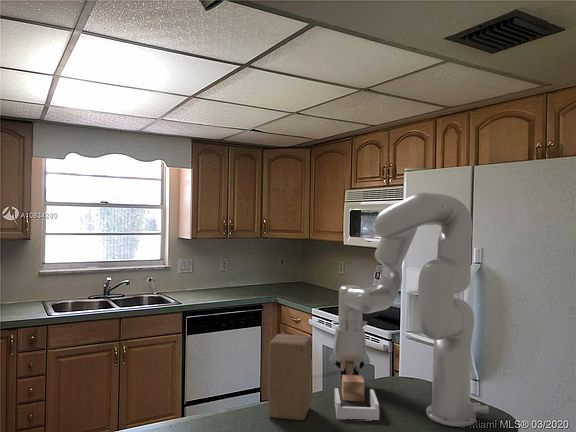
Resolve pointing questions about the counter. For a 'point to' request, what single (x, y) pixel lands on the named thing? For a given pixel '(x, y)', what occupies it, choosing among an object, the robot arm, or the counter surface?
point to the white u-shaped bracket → (357, 409)
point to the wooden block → (289, 376)
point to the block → (352, 384)
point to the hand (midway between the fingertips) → (349, 382)
